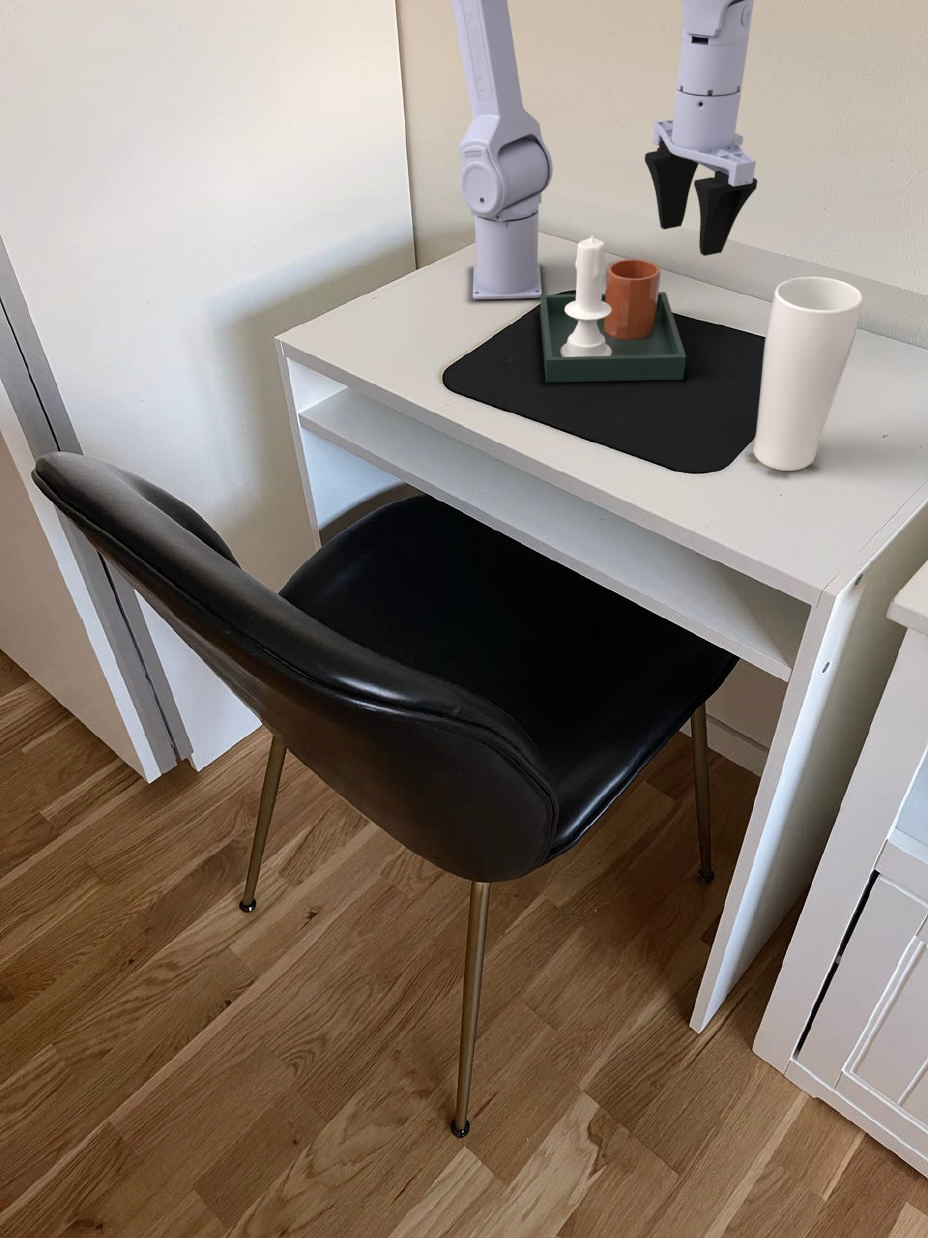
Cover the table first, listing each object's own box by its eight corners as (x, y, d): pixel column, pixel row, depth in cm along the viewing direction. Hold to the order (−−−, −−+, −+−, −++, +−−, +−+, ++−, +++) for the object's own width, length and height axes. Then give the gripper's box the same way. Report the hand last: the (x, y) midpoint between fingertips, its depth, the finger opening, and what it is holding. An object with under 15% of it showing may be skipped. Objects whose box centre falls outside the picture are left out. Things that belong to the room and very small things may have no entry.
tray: (540, 316, 108) (540, 294, 106) (663, 313, 107) (665, 291, 105) (545, 382, 96) (546, 359, 95) (683, 379, 96) (686, 356, 94)
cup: (601, 317, 106) (605, 259, 101) (650, 316, 105) (656, 258, 101) (605, 340, 102) (609, 280, 97) (657, 339, 101) (663, 279, 97)
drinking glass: (737, 437, 88) (766, 276, 78) (812, 436, 87) (851, 274, 77) (751, 479, 83) (784, 312, 73) (831, 478, 82) (875, 310, 72)
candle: (563, 339, 102) (567, 225, 94) (613, 342, 101) (622, 227, 93) (556, 363, 98) (560, 246, 90) (609, 366, 97) (617, 248, 89)
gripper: (794, 101, 83) (767, 257, 92) (704, 65, 93) (687, 209, 102) (724, 112, 81) (702, 271, 90) (639, 74, 91) (628, 220, 100)
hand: (690, 239), depth 96 cm, fingers open, 7 cm apart
